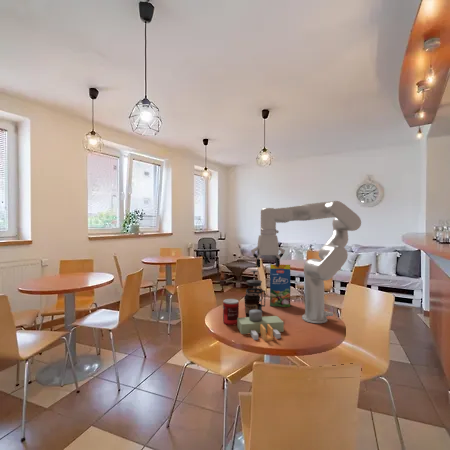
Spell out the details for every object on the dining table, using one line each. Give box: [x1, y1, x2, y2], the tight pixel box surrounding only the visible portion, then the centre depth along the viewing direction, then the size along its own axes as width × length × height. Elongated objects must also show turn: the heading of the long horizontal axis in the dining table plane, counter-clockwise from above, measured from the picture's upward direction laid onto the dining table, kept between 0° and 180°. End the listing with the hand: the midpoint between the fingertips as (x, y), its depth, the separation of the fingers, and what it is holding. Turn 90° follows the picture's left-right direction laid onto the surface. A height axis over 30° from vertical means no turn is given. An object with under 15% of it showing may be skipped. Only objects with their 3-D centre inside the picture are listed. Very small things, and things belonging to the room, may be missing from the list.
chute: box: [259, 324, 274, 342], centre depth 123 cm, size 4×6×5 cm, turn 8°
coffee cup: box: [243, 292, 261, 317], centre depth 148 cm, size 9×8×13 cm
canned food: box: [222, 298, 240, 326], centre depth 142 cm, size 8×8×11 cm
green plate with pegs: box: [236, 309, 285, 341], centre depth 129 cm, size 20×16×8 cm
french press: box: [245, 269, 266, 312], centre depth 161 cm, size 12×9×23 cm
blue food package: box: [269, 263, 291, 308], centre depth 172 cm, size 6×12×25 cm, turn 80°
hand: (267, 266), depth 140 cm, fingers open, 9 cm apart
